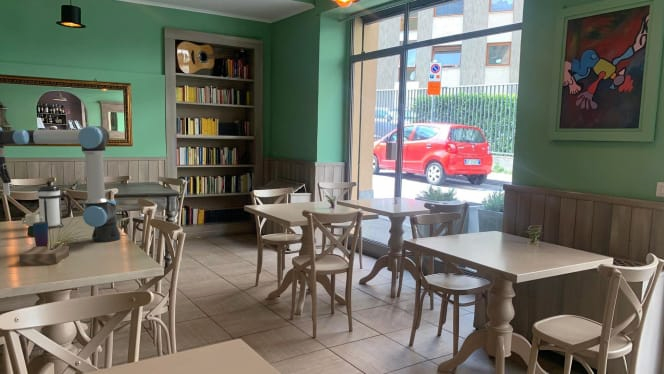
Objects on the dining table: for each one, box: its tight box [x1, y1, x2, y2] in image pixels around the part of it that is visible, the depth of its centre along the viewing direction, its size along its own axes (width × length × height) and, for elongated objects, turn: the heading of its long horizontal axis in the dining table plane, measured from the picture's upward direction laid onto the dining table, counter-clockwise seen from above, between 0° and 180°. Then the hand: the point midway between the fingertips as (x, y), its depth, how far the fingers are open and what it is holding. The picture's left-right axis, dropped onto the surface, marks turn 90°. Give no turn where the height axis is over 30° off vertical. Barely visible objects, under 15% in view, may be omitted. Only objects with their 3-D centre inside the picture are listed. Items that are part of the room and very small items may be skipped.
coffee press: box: [35, 180, 72, 228], centre depth 327 cm, size 17×16×30 cm
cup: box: [33, 222, 49, 247], centre depth 262 cm, size 7×7×15 cm
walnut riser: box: [18, 245, 70, 266], centre depth 245 cm, size 16×16×5 cm
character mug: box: [21, 213, 43, 237], centre depth 299 cm, size 11×7×13 cm, turn 118°
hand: (0, 196), depth 269 cm, fingers open, 13 cm apart
